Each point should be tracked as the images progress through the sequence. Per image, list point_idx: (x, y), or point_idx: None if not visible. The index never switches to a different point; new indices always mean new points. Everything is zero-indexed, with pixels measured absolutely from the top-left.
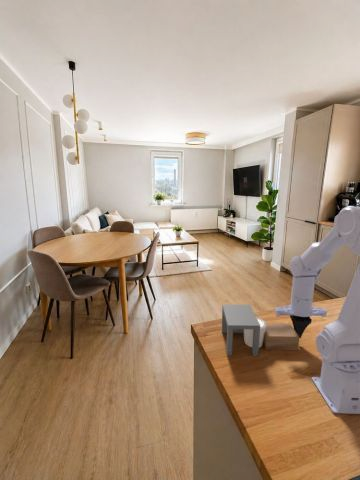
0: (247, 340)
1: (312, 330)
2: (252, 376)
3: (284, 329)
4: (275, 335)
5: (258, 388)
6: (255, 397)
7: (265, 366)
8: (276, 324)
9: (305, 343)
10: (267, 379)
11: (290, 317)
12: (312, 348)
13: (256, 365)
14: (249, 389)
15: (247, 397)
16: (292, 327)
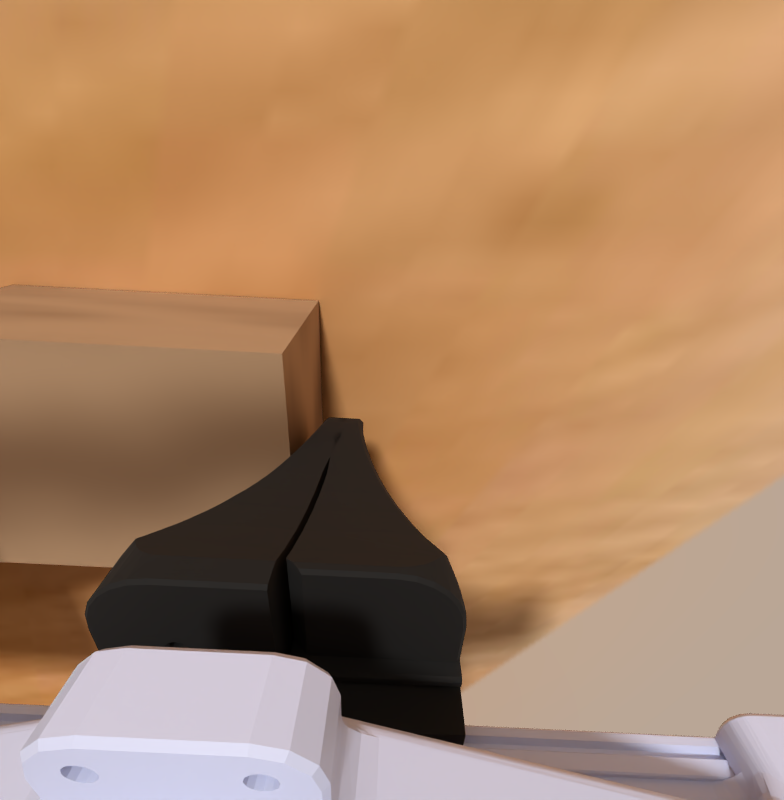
0: None
1: (644, 206)
2: (13, 628)
3: (173, 476)
4: (63, 554)
5: (48, 671)
6: (38, 695)
7: (79, 584)
8: (83, 376)
9: (425, 412)
10: (88, 641)
11: (195, 522)
12: (446, 466)
13: (26, 577)
14: (9, 672)
15: (6, 694)
16: (285, 443)
